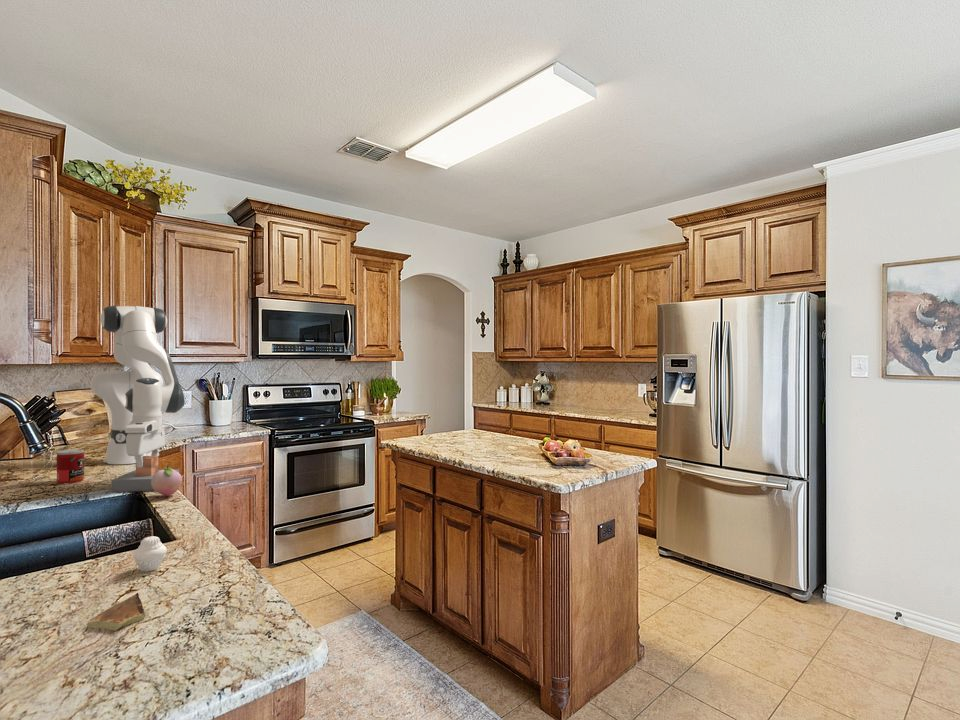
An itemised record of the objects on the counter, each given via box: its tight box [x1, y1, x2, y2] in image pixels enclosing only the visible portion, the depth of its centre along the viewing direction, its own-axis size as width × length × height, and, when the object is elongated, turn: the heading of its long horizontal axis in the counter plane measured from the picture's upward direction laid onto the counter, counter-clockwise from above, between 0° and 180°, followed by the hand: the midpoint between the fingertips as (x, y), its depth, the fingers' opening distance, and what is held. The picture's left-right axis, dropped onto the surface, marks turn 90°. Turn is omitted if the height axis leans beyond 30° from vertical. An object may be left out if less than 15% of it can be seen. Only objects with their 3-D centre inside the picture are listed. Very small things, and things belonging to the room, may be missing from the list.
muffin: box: [132, 535, 168, 573], centre depth 110 cm, size 6×6×7 cm
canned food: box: [56, 448, 85, 484], centre depth 185 cm, size 8×8×11 cm
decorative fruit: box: [151, 465, 183, 498], centre depth 166 cm, size 9×8×10 cm
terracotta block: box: [135, 456, 159, 476], centre depth 180 cm, size 5×5×6 cm
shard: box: [86, 592, 147, 631], centre depth 91 cm, size 11×8×2 cm
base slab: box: [111, 468, 180, 493], centre depth 180 cm, size 15×15×4 cm
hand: (147, 464), depth 180 cm, fingers open, 8 cm apart
